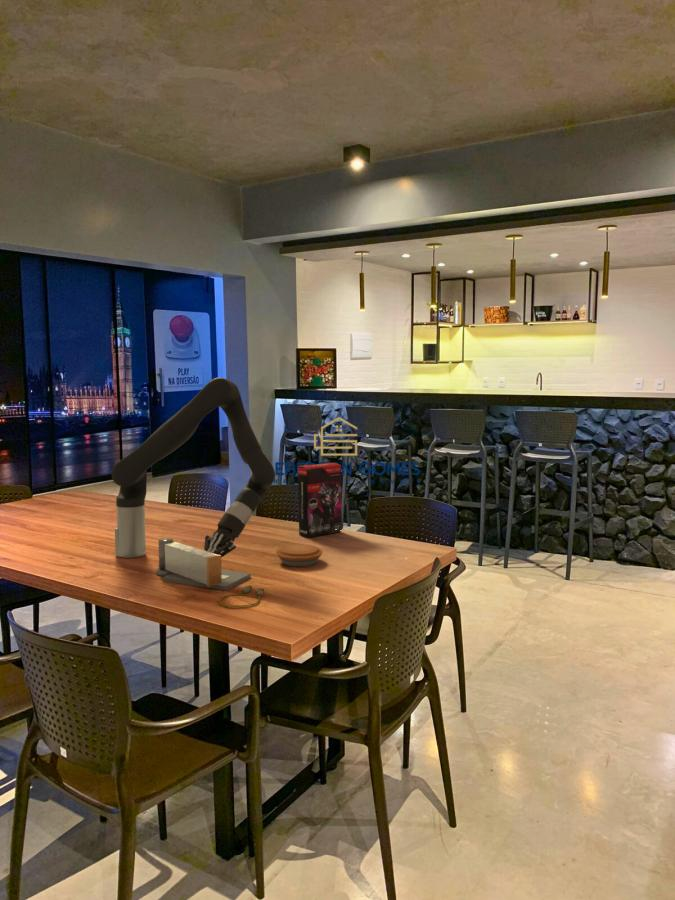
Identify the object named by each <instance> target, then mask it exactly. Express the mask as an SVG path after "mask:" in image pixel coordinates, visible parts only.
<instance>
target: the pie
mask: <svg viewBox="0 0 675 900" xmlns="http://www.w3.org/2000/svg"><path fill="white" fill-rule="evenodd" d="M275 554H276V556H277V557H279V559H280V560H281V563H282V564H284V565H285V566H288V567H294V566H298V567H302V566H303V567H309V566H313V565H315V564H316V563H317V562H318V560H319V559H320V557H321V555H322V554H323V549H320V548H318V547H317V546H315V545H311V544H304V543H303V544H298V543H297V544H288V545H284V546H282V547H281V548H278V549H277V550H276V551H275ZM298 567H297V568H298Z"/></svg>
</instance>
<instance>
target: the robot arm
mask: <svg viewBox="0 0 675 900" xmlns="http://www.w3.org/2000/svg"><path fill="white" fill-rule="evenodd" d="M218 407H219V408H221V410H222V411H223V413H224V414H225V415H226V417H227V419H228V421H229V424H230V427H231V431H232V437H233V441H234V444H235V447H236V449H237V451H238V454H239V455H240V457H241V460H242V461H243V462H244V464H246V465H248V467H249V469H250V471H251V476H250V477H249V479H248V480H247V483H245V485H244V487H243V488H242V489H241V490H240V491H239V493H238V494H237V496H236V497H235V498H234V501H233V502H232V503H231V504H230V505H229V507H228V508H227V509H226V511H225V512H224V514H223V516H222V517H221V518H220V520H219V521H218V523H217V529H216V530H215V531H213V534H212V535H205V536H204V548H203V549H204V551H207V552H210V553H213V554H217V555H218V554H220V555H221V559H222V558H224V557H225V556H226V555H228V554H229V553H230V552H233V550H235V549H236V548H237V546H236V545H235V544H234V542H235V539H238V538H239V537H240V536H241V534H242V532H243V531H244V529H245V528H246V526H247V524H248V523H249V522H250V521H251V518H252V515H254V513H255V511H256V510H257V508H258V506H259V504H260V503H261V500H262V499H263V497H264V496H265V495H266V493H267V491H269V489H270V487H271V486H272V485H273V483H274V481H275V480H276V471H275V469H274V466H273V465H272V463H271V461H270V460H269V459H268V457H267V455H265V453H264V452H263V449H262V447H261V445H260V442H259V441H258V439H257V437H256V435H255V432H254V430H253V428H252V426H251V423H250V421H249V419H248V416H247V413H246V410H245V407H244V403H243V400H242V396H241V393H240V389H239V388H238V386H237V385H236V384H235V383H234V382H233V381H231V380H229V379H227V378H224V377H215V378H212V379H211V380H210V381H208V383H206V385H204V386H203V387H202V389H201V390H200V391H199V392H198V393H197V394H196V395H195V396H194V397H193V398H192V399H191V400H190V401H189V402H188V403H186V404H185V405H184V406H182V408H180V410H178V411H177V412H176V413H175V414H174V415H172V416H171V417H169V418H168V419H167V421H165V422H163V423H162V424H161V425H160V426H159V427H158V428H157V429H156V430H155V431H154V432H153V433H152V434H151V435H150V436H148V438H147V439H146V440H145V441H144V442H143V443H142V444H140V446H138V447H137V448H136V449H135V450H133V451H132V452H130V453H129V454H128V455H127V456H125V457H123V458H122V459H120V460H119V461H117V462H116V463H115V464H114V466H113V468H112V470H111V479H112V481H113V483H115V484H116V485H117V486H119V492H118V495H117V497H116V500H115V502H116V503H115V505H116V506H115V507H116V528H114V545H115V546H114V548H115V549H114V550H115V551H114V552H115V553H114V554H115V557H120V558H126V559H127V558H129V559H130V558H139V557H142V556H145V555H146V553H147V552H146V551H147V550H146V549H147V546H146V511H145V510H146V508H145V507H146V503H145V500H146V498H147V497H146V496H147V485H148V483H147V481H148V480H147V479H148V478H147V477H148V474H147V471H148V469H149V468H151V467H152V466H153V465H155V464H156V463H157V462H158V461H159V462H160V461H161V460H162V459H164V458H165V457H168V456H169V455H170V454H172V453H174V452H175V451H176V450H177V449H179V448H181V446H183V445H184V444H185V443H186V442H187V441H189V440H190V438H191V437H192V436H193V435H194V433H195V432H196V431H197V429H198V427H199V424H200V423H201V422H202V421H203V419H204V418H205V417H206V416H207V415H208V414H210V413H211V412H212V411H214V410H216V409H217V408H218Z"/></svg>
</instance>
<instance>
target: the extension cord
mask: <svg viewBox="0 0 675 900" xmlns="http://www.w3.org/2000/svg"><path fill="white" fill-rule="evenodd" d="M252 590H253V586H252V585H250V584H249V585H246V586H244V587H243V588H242V589H241V590H240V592H237V593H236V594H235V593H233V594H227V595H224V596H222V597H220V599H219V600H218V604H219V606H221V607H224V608H226V609H232V610H233V609H234V610H235V609H237V610H239V609H246V608H252V607H255V606H259V605H260V604H261V598H262V596H263V595H264V592H265V588H261V587H260V588H258V589H257V590H256V596H254V595H250V594H247V593H250V591H252ZM231 596H247V597H251V598H254V599H256V600H257V601H256V602H253V603H250V604H249V603H248V604H243V605H227V604H223V603H222V601H223V600H224V599H225V598H230V597H231Z"/></svg>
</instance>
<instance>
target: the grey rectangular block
mask: <svg viewBox="0 0 675 900" xmlns="http://www.w3.org/2000/svg"><path fill="white" fill-rule="evenodd" d="M158 568H159V569H160V570H168V571H170V572H173V573H176V574H179V575H181V576H184V577H187V578H190V579H192V580H195V581H198V582H201V583H203V584H206V585H207V586H209V587H210V586H213V585H217V584H221V583H222V581H221V569H222V558H221V555H220V554H218V555H217V554H213V553H210V552H207V551H205V550H203V549H200V548H197V547H193V546H191V545H188V544H184V543H180V542H176V541H174V539H173V538H169V537H168V538H167V537H165V538H161V539H160V538H159V539H158Z"/></svg>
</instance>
